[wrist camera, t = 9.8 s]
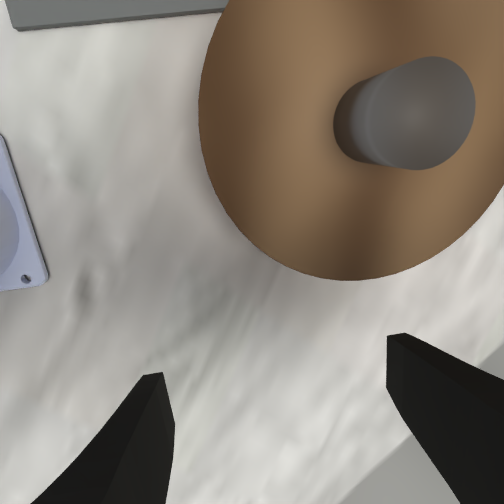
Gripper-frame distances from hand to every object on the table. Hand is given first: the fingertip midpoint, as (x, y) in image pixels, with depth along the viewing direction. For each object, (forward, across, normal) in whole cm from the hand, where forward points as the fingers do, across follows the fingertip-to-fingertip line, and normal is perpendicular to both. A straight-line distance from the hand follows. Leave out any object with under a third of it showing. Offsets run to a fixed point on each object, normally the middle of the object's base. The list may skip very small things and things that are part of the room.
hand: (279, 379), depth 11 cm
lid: (+5, -5, -7) cm, 10 cm away
